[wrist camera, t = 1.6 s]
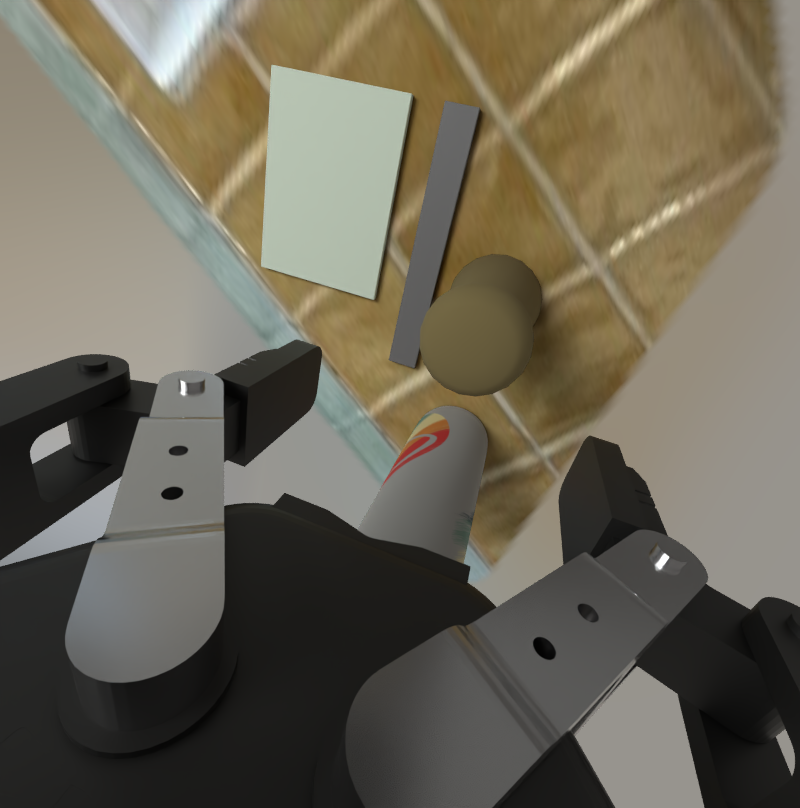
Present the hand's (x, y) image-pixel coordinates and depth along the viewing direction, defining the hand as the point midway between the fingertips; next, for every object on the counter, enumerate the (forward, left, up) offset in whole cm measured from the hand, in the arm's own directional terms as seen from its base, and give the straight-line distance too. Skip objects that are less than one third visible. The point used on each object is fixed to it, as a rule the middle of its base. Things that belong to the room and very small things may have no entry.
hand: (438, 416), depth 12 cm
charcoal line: (-2, -5, -17) cm, 18 cm away
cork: (0, 0, -18) cm, 18 cm away
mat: (-4, -12, -17) cm, 22 cm away
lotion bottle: (+11, 0, -18) cm, 21 cm away
